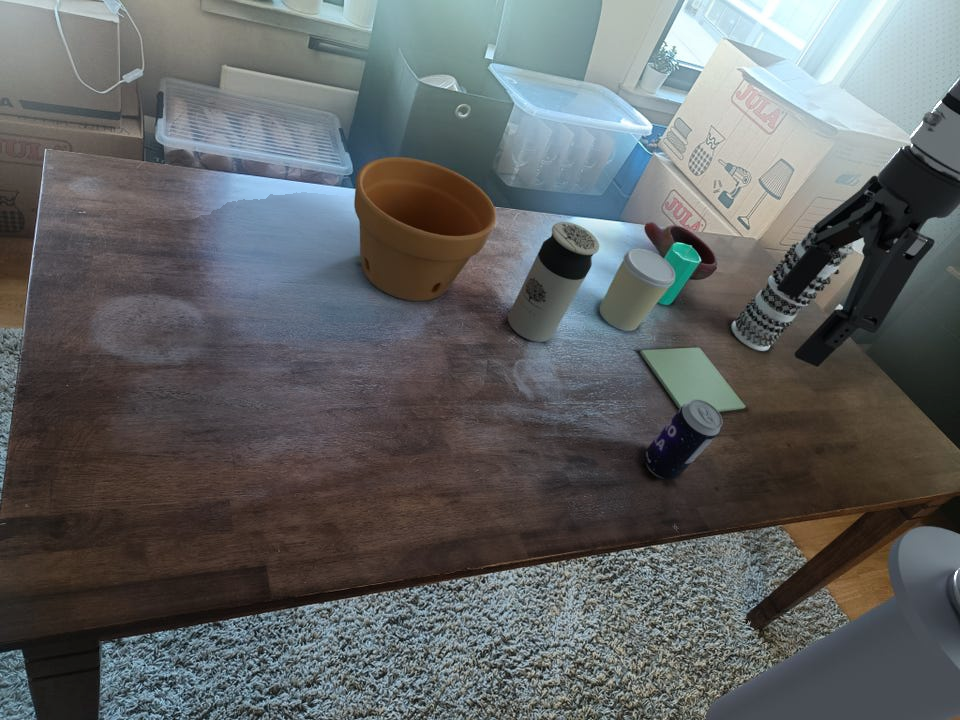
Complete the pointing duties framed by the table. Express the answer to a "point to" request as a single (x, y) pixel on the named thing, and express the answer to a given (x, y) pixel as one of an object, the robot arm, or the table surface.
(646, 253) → the cream lidded canister
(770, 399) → the table surface
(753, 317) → the decorative candle
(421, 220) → the flower pot
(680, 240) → the bowl
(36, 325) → the table surface
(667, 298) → the candle
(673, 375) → the mat
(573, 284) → the travel mug
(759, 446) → the table surface
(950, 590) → the robot arm
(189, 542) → the table surface
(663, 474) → the beverage can
